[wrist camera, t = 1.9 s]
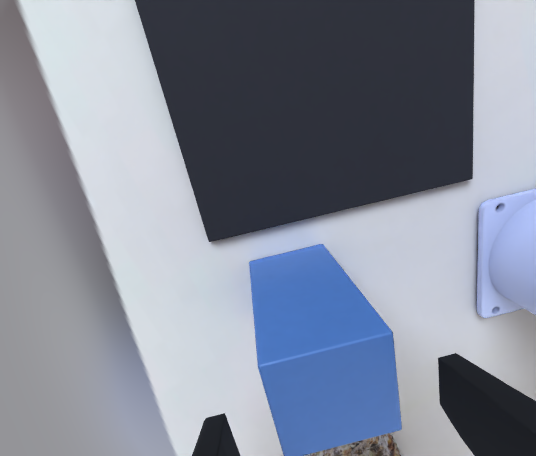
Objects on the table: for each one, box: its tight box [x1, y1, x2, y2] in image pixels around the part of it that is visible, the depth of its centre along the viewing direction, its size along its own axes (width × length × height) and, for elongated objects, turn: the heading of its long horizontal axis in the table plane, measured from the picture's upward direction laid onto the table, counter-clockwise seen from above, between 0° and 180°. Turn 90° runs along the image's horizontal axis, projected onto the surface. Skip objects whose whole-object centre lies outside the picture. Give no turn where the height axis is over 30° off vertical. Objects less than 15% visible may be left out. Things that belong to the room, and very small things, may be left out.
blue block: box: [249, 244, 402, 456], centre depth 13 cm, size 4×4×8 cm
